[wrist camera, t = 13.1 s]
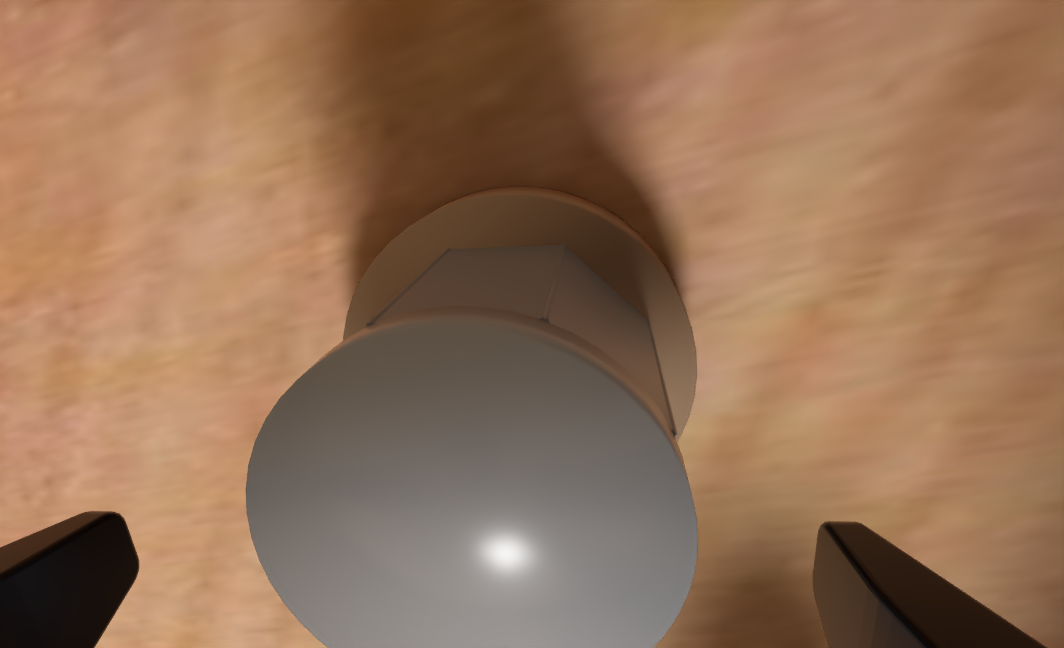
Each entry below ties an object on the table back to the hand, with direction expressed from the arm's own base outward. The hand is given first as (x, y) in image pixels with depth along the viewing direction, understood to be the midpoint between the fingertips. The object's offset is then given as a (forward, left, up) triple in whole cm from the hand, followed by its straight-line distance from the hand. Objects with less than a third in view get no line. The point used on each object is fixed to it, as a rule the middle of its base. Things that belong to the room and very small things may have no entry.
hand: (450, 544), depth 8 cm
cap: (0, 0, -6) cm, 6 cm away
